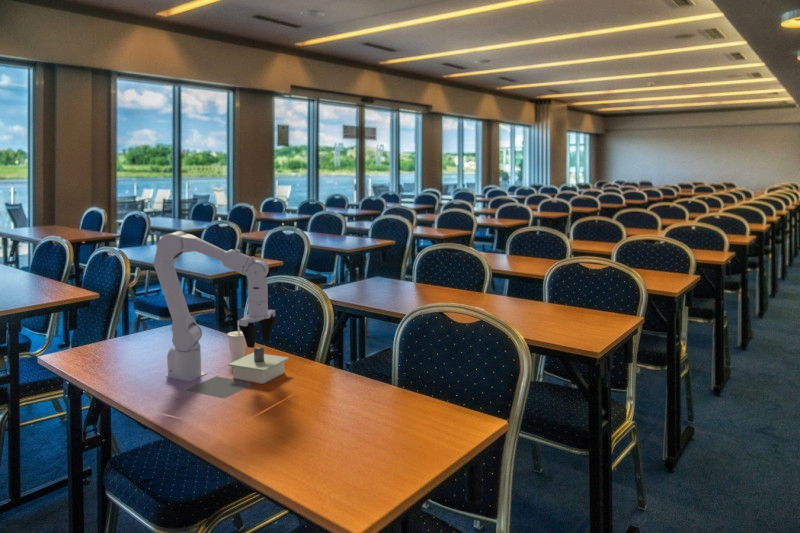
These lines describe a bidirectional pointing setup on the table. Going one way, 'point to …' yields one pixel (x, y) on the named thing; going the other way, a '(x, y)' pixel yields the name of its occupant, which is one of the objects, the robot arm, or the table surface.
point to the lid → (258, 361)
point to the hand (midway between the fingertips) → (258, 344)
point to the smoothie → (236, 344)
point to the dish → (258, 374)
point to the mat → (219, 387)
